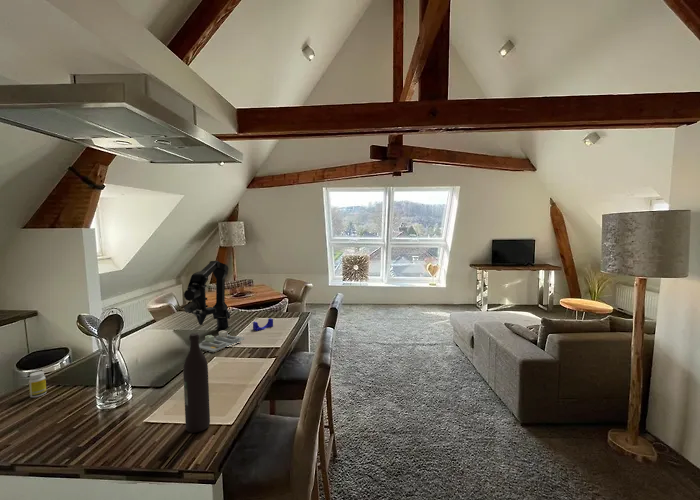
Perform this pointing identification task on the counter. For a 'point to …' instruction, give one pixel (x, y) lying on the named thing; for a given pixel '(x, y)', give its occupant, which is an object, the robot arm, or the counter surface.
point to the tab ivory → (223, 334)
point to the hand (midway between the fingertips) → (200, 324)
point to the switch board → (219, 343)
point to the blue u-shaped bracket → (269, 324)
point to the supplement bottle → (37, 384)
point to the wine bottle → (196, 388)
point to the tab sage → (209, 338)
